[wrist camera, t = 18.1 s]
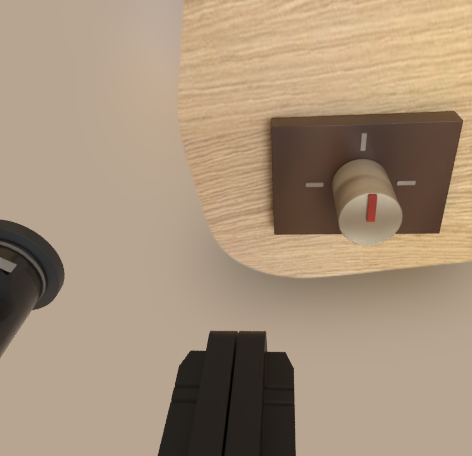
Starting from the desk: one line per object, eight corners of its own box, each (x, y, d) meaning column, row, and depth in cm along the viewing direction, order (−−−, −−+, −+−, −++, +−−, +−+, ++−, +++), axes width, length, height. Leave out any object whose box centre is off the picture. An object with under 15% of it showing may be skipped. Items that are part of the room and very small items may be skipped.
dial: (385, 206, 37) (399, 247, 33) (331, 207, 38) (337, 248, 33) (390, 157, 35) (407, 194, 30) (333, 159, 35) (340, 196, 31)
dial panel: (274, 222, 42) (274, 235, 40) (271, 117, 36) (271, 127, 34) (433, 220, 40) (440, 234, 38) (455, 111, 35) (464, 121, 33)
